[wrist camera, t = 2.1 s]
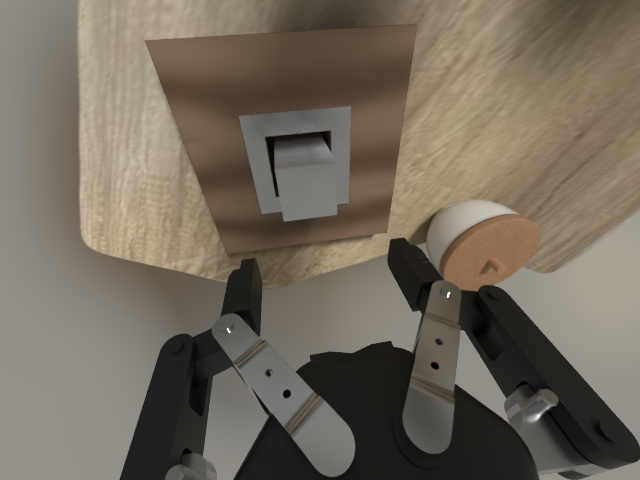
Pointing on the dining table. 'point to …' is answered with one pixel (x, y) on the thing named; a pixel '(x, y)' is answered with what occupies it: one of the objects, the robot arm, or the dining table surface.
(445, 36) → the dining table surface
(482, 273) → the lidded bowl
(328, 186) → the brushed steel block
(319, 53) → the mount plate
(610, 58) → the dining table surface
